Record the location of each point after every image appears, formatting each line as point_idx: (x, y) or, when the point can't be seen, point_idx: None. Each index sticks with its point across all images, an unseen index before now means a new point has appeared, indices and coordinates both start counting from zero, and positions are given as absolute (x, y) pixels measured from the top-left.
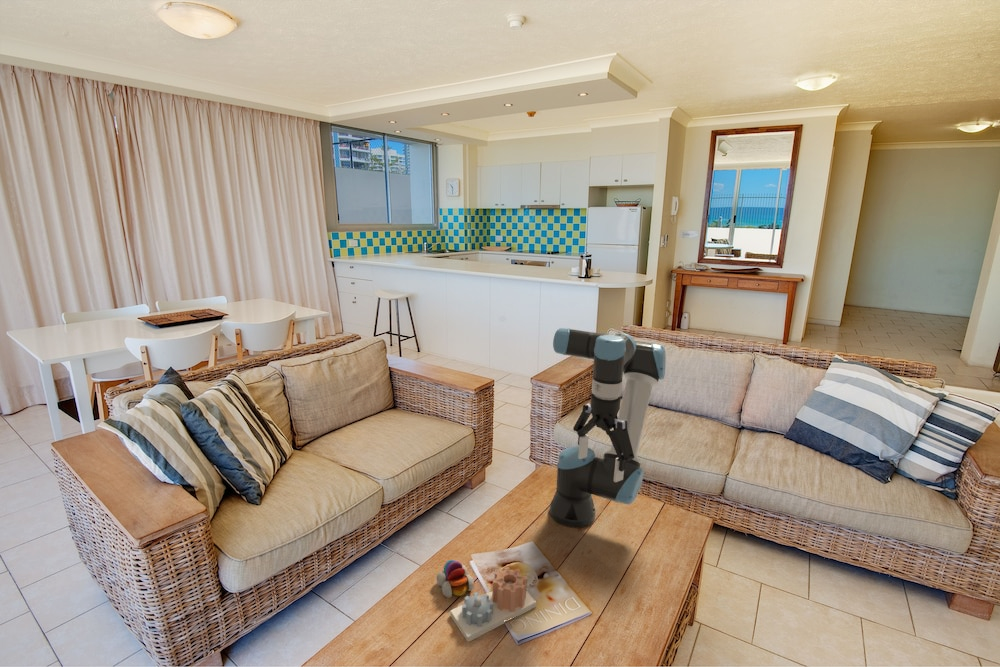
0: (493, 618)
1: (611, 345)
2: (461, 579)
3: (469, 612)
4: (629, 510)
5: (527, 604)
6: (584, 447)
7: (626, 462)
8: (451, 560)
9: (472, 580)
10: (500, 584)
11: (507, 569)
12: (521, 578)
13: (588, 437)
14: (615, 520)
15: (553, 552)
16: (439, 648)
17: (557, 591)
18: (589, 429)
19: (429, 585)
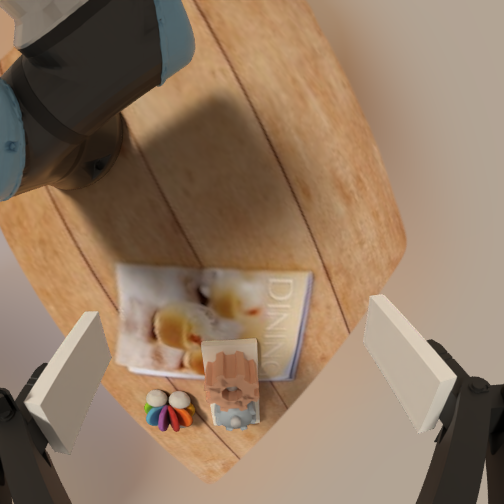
0: None
1: None
2: (184, 418)
3: (242, 427)
4: None
5: (254, 355)
6: (82, 375)
7: (463, 372)
8: (149, 421)
9: (184, 401)
10: (234, 406)
11: (211, 388)
12: (239, 381)
13: (45, 396)
14: None
15: (159, 245)
16: (250, 436)
17: (247, 294)
18: (57, 494)
19: None
